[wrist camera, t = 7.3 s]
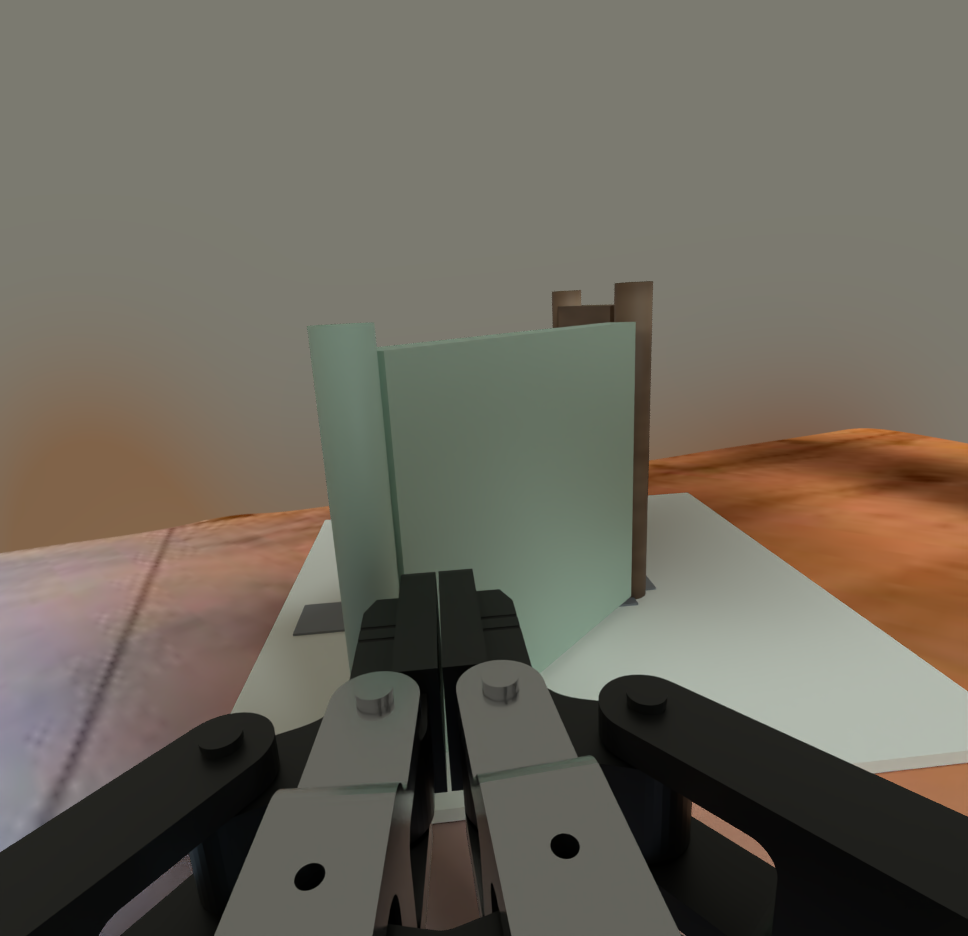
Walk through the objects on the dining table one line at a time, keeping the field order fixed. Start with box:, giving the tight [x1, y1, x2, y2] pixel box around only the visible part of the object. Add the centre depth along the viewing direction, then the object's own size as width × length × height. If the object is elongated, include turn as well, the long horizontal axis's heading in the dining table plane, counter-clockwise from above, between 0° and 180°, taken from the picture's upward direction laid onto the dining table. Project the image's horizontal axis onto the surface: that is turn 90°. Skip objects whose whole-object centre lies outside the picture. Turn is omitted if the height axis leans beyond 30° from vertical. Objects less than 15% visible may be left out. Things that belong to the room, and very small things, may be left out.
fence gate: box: [307, 322, 636, 752], centre depth 19 cm, size 13×1×12 cm, turn 140°
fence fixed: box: [552, 281, 653, 599], centre depth 30 cm, size 2×13×13 cm, turn 5°
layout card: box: [231, 493, 968, 824], centre depth 27 cm, size 23×23×1 cm
